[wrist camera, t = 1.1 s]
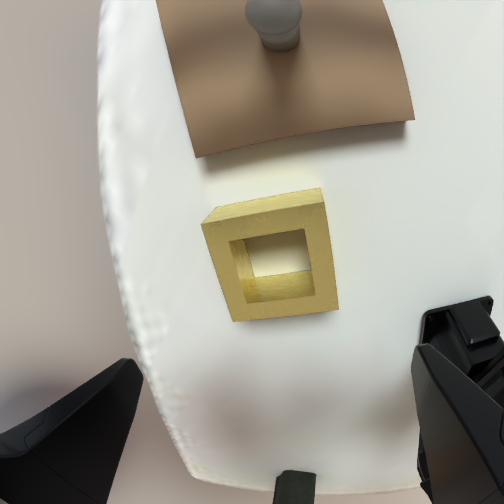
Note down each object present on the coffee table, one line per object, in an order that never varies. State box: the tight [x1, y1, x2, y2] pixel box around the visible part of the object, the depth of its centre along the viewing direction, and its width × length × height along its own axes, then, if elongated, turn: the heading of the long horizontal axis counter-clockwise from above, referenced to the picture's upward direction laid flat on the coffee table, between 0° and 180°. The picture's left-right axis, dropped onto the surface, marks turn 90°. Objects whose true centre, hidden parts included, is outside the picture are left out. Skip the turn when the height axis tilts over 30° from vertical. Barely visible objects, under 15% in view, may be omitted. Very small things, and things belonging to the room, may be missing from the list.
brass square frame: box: [201, 188, 339, 322], centre depth 17 cm, size 6×6×3 cm
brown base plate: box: [156, 0, 415, 158], centre depth 10 cm, size 11×12×6 cm
